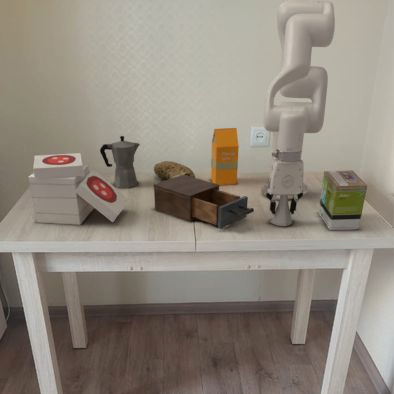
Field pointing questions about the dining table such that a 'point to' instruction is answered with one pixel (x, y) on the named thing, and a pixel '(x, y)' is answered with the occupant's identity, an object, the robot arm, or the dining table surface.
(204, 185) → the cabinet
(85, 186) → the pizza boxes
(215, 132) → the orange juice
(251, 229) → the dining table surface
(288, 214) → the flask
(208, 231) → the dining table surface
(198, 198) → the drawer
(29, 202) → the dining table surface
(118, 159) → the coffeepot
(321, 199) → the tea box
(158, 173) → the sponge
